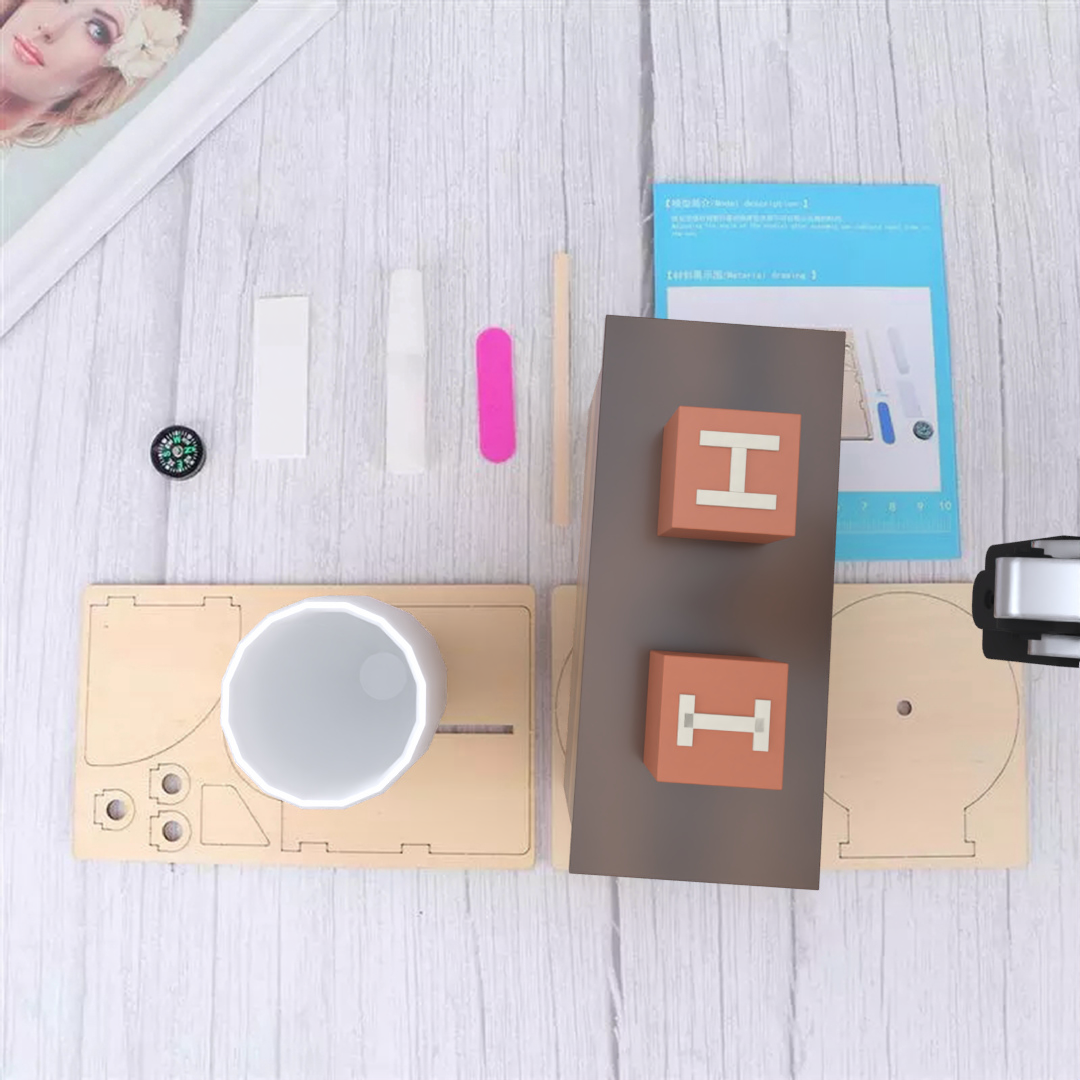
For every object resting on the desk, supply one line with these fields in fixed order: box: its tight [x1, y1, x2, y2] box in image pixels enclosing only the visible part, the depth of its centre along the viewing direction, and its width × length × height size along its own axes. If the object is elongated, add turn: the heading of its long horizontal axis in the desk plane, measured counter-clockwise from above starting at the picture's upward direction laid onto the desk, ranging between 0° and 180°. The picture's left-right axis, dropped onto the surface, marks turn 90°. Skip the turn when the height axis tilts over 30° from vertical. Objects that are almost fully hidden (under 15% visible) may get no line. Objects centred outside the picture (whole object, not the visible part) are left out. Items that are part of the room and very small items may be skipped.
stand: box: [562, 366, 602, 825], centre depth 55 cm, size 10×25×22 cm, turn 176°
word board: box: [568, 314, 847, 891], centre depth 43 cm, size 11×25×1 cm, turn 176°
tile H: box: [657, 406, 801, 544], centre depth 41 cm, size 5×5×5 cm
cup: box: [219, 594, 448, 810], centre depth 54 cm, size 10×10×22 cm
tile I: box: [643, 650, 789, 790], centre depth 40 cm, size 5×5×5 cm
